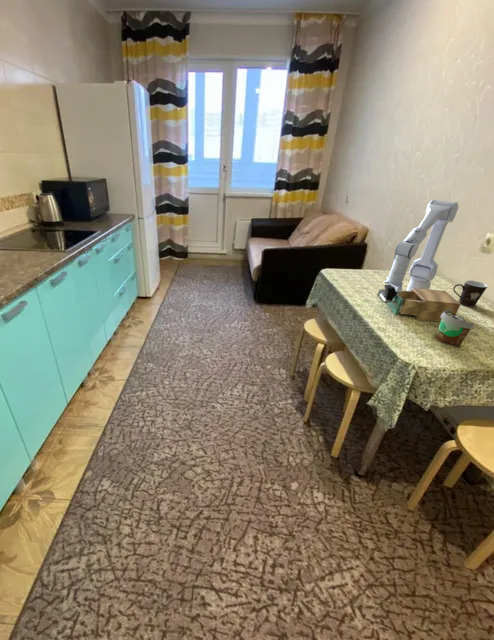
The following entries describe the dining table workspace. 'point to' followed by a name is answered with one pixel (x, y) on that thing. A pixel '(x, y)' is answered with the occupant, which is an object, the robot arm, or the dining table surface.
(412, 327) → the dining table surface
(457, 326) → the food container
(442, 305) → the cabinet
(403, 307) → the drawer
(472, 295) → the coffee mug
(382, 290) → the remote
